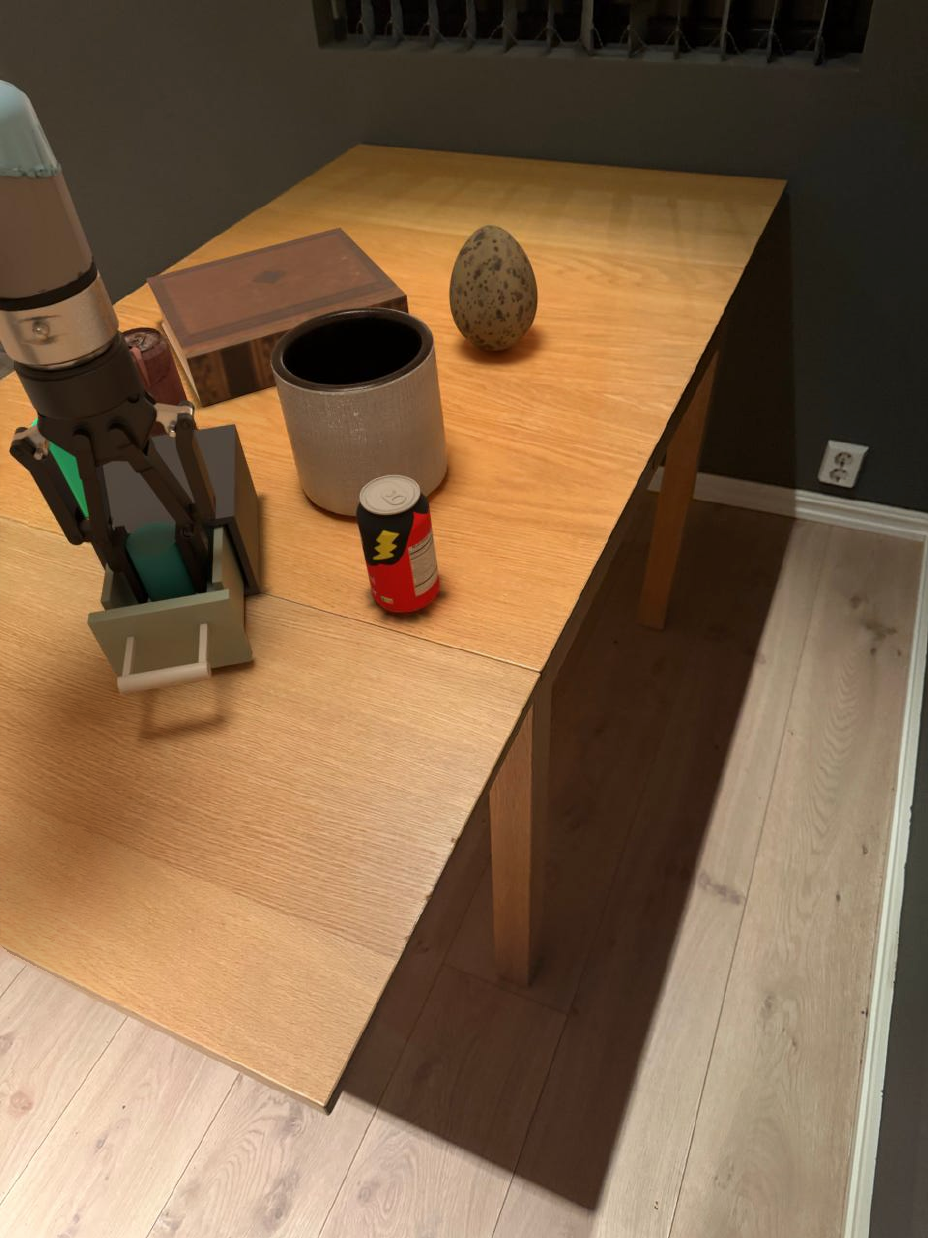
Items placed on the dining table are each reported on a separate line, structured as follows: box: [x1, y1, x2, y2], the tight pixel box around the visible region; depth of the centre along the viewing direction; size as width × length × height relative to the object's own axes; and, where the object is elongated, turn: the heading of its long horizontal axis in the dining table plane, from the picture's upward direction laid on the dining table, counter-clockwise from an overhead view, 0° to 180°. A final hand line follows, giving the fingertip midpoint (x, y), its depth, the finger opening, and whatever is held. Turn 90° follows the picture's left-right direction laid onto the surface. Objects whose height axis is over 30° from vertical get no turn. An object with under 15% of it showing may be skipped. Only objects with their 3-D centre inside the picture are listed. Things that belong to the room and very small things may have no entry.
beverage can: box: [355, 475, 440, 613], centre depth 78 cm, size 6×6×12 cm
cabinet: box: [90, 423, 261, 597], centre depth 85 cm, size 15×13×10 cm
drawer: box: [86, 524, 253, 695], centre depth 76 cm, size 19×11×8 cm, turn 10°
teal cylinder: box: [126, 522, 197, 602], centre depth 75 cm, size 4×4×6 cm
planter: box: [270, 307, 448, 517], centre depth 90 cm, size 16×16×16 cm
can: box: [121, 326, 199, 437], centre depth 97 cm, size 6×6×14 cm
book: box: [145, 227, 410, 408], centre depth 117 cm, size 24×28×6 cm
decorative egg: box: [448, 224, 539, 352], centre depth 107 cm, size 11×11×15 cm
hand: (173, 587), depth 77 cm, fingers closed on teal cylinder, 4 cm apart
